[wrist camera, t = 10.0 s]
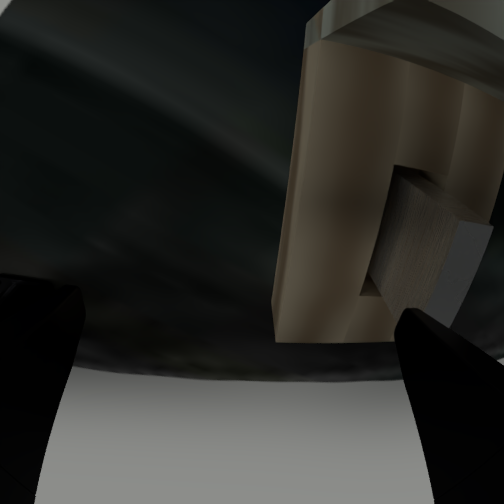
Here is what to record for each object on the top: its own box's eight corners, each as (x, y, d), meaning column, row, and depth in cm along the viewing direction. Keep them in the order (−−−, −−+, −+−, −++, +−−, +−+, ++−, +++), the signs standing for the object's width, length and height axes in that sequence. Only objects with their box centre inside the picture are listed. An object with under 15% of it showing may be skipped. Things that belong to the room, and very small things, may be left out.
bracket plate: (358, 255, 20) (407, 344, 13) (380, 163, 17) (460, 220, 10) (385, 257, 20) (441, 342, 13) (409, 169, 17) (493, 226, 10)
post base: (271, 301, 22) (288, 462, 12) (306, 23, 14) (409, -64, 3) (417, 305, 23) (484, 425, 13) (478, 77, 14) (627, 113, 4)
